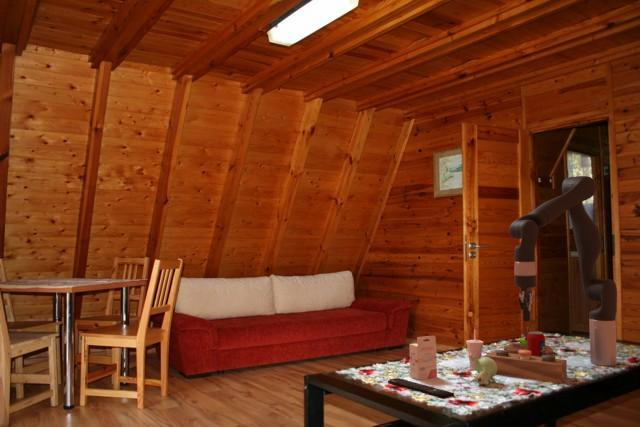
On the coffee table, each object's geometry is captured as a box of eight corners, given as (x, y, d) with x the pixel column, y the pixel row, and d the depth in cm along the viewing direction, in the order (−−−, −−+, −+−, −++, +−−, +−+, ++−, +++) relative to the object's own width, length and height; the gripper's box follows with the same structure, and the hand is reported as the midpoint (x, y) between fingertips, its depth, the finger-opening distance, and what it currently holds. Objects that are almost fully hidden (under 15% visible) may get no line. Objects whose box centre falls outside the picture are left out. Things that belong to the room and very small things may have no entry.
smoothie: (484, 365, 207) (484, 329, 208) (482, 369, 201) (481, 331, 202) (467, 364, 210) (467, 328, 210) (465, 367, 204) (464, 330, 205)
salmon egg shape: (520, 368, 196) (520, 349, 196) (533, 370, 194) (532, 350, 194) (517, 371, 192) (516, 351, 193) (530, 372, 190) (529, 352, 190)
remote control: (443, 400, 163) (443, 396, 163) (386, 384, 182) (386, 380, 182) (454, 397, 167) (454, 393, 167) (397, 381, 185) (397, 377, 185)
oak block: (493, 367, 204) (492, 351, 205) (566, 376, 190) (566, 359, 190) (484, 372, 196) (484, 355, 197) (561, 383, 182) (561, 365, 182)
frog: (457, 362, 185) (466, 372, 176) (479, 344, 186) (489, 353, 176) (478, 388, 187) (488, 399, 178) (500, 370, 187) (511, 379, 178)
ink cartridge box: (428, 374, 194) (427, 333, 195) (437, 377, 189) (436, 335, 190) (409, 377, 190) (408, 335, 191) (417, 380, 185) (417, 337, 186)
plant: (557, 351, 236) (556, 326, 236) (550, 360, 219) (549, 332, 219) (510, 347, 246) (509, 322, 247) (500, 354, 229) (499, 328, 230)
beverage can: (547, 365, 208) (546, 334, 208) (529, 364, 209) (528, 333, 210) (543, 361, 214) (543, 331, 215) (525, 360, 216) (525, 330, 216)
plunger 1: (498, 368, 201) (498, 349, 201) (510, 369, 198) (510, 350, 198) (494, 370, 197) (494, 351, 197) (507, 372, 194) (506, 352, 195)
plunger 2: (543, 374, 192) (543, 354, 192) (556, 376, 189) (556, 356, 189) (540, 376, 188) (540, 356, 188) (554, 378, 185) (553, 358, 186)
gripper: (531, 275, 190) (533, 324, 189) (539, 272, 201) (541, 319, 200) (509, 275, 194) (511, 323, 194) (519, 272, 205) (521, 317, 205)
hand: (527, 321), depth 197 cm, fingers closed
